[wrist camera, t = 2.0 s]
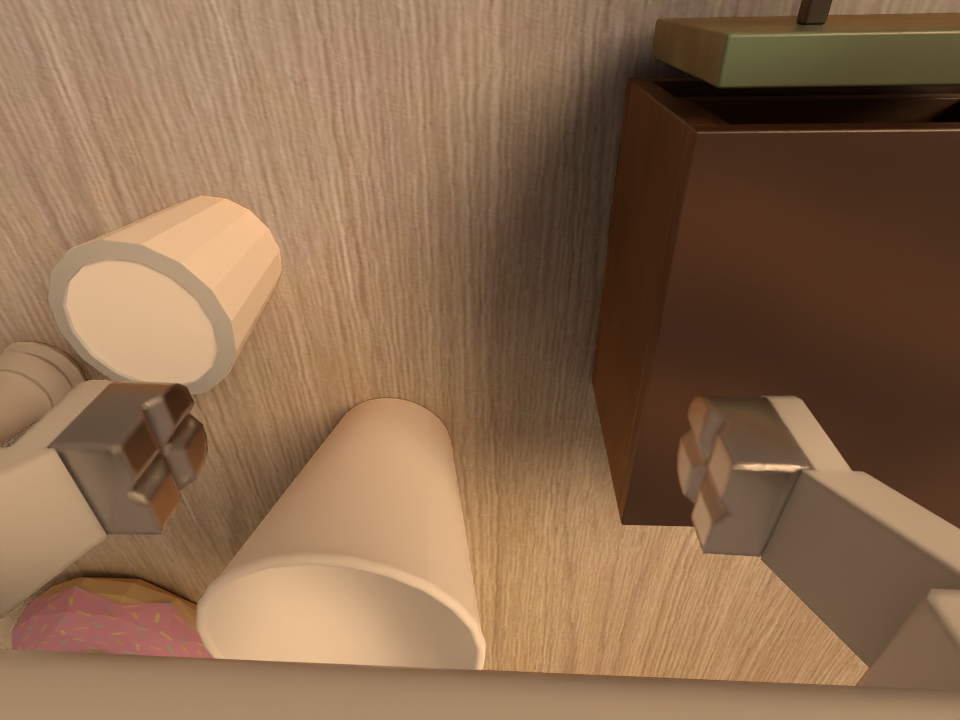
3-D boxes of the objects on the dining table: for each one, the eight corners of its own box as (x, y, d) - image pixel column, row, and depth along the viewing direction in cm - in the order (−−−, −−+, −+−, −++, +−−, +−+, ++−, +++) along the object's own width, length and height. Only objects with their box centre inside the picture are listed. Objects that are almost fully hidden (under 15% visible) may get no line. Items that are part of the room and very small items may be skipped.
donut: (256, 600, 43) (228, 666, 39) (218, 684, 51) (192, 746, 47) (43, 536, 39) (-12, 601, 35) (38, 636, 47) (-7, 699, 43)
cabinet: (626, 78, 21) (695, 131, 13) (991, 72, 21) (1290, 124, 13) (591, 381, 30) (621, 525, 22) (852, 384, 29) (982, 534, 21)
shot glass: (310, 312, 28) (258, 397, 22) (183, 319, 29) (99, 403, 23) (270, 175, 24) (194, 234, 18) (124, 187, 25) (6, 247, 19)
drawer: (680, -164, 17) (785, -258, 10) (1107, -179, 16) (1499, -290, 10) (612, 341, 27) (643, 451, 21) (872, 343, 26) (989, 457, 20)
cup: (258, 446, 33) (147, 649, 23) (366, 320, 28) (283, 511, 18) (414, 534, 37) (378, 741, 27) (535, 438, 32) (547, 651, 22)
